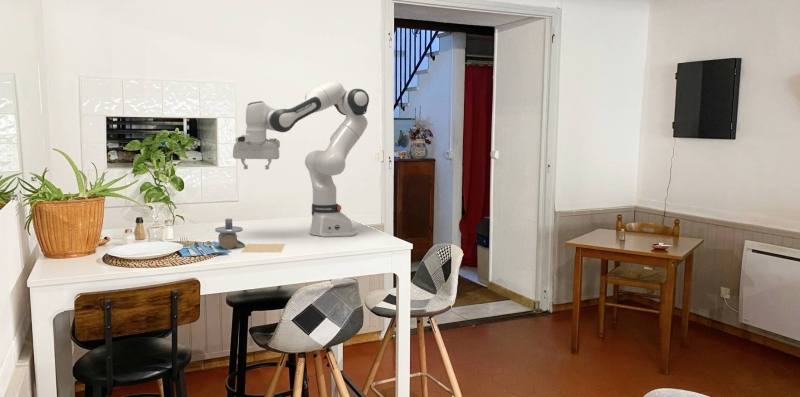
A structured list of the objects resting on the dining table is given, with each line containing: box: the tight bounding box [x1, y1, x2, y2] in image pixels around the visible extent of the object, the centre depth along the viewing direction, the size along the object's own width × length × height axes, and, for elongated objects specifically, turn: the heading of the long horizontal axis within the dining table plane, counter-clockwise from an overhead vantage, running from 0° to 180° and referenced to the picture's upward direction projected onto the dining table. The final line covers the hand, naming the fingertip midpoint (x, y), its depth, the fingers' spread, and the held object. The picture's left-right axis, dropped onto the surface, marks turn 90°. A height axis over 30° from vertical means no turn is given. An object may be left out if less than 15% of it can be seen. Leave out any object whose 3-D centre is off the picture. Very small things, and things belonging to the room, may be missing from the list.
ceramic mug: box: [217, 232, 246, 250], centre depth 255 cm, size 11×8×8 cm
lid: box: [214, 218, 244, 234], centre depth 255 cm, size 11×11×5 cm
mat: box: [240, 243, 286, 253], centre depth 255 cm, size 16×16×1 cm
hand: (256, 169), depth 275 cm, fingers open, 8 cm apart
